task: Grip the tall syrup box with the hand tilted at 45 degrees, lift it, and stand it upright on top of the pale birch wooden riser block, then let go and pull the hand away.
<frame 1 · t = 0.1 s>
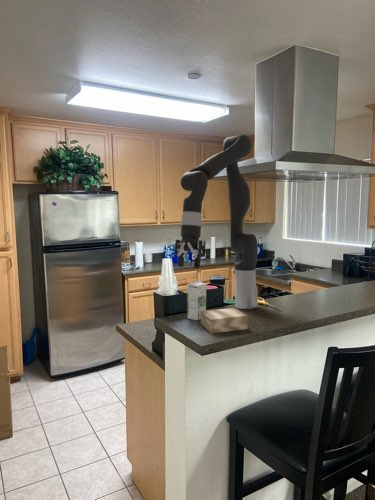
hand: (188, 267, 137), 22 cm above the countertop, tool pointing down, fingers open, 8 cm apart
syrup box: (197, 318, 148), on the countertop
riser block: (223, 326, 136), on the countertop
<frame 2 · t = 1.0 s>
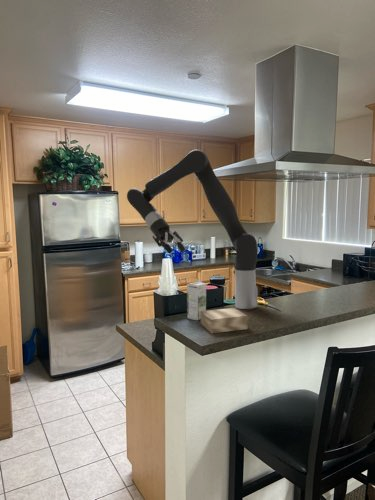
hand: (177, 251, 152), 27 cm above the countertop, tool tilted 45°, fingers open, 8 cm apart
nothing on the countertop moved.
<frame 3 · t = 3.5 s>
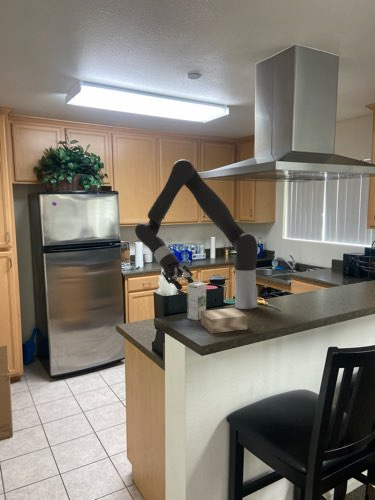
hand: (187, 287, 150), 12 cm above the countertop, tool tilted 45°, fingers open, 8 cm apart
nothing on the countertop moved.
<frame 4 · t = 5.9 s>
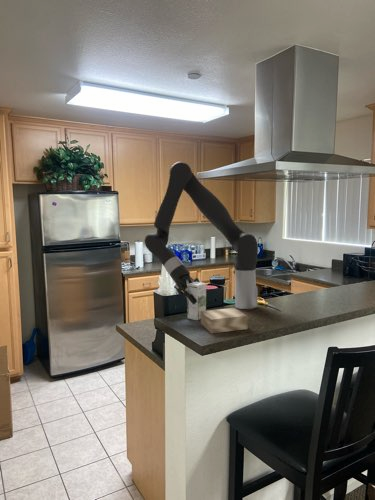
hand: (200, 301, 146), 7 cm above the countertop, tool tilted 45°, fingers closed on syrup box, 5 cm apart
syrup box: (197, 318, 148), on the countertop, touching gripper
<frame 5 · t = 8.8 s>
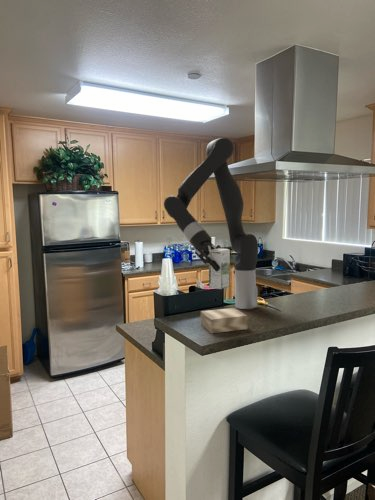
hand: (223, 268, 134), 22 cm above the countertop, tool tilted 45°, fingers closed on syrup box, 5 cm apart
syrup box: (219, 287, 136), point 14 cm above the countertop, touching gripper
when the fingers open (14 cm above the countertop, at t = 11.9 s): syrup box drops 1 cm, resting on riser block.
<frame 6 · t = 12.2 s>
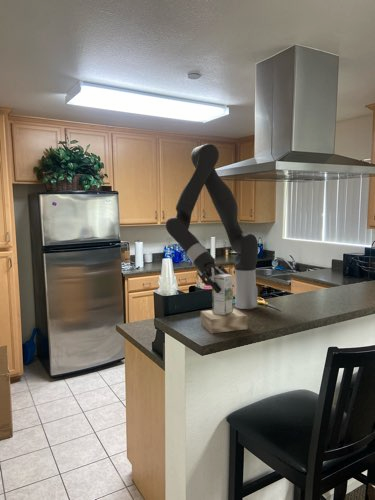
hand: (226, 289, 134), 14 cm above the countertop, tool tilted 45°, fingers open, 8 cm apart
syrup box: (222, 313, 136), point 5 cm above the countertop, touching riser block
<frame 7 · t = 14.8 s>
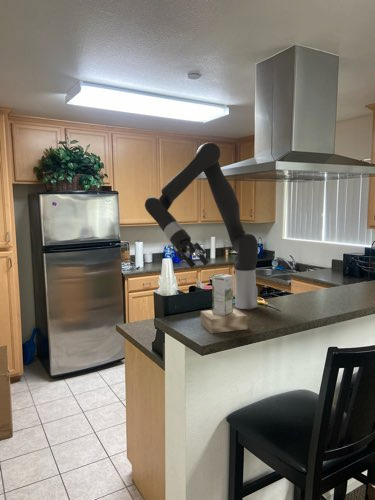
hand: (200, 265, 140), 23 cm above the countertop, tool tilted 45°, fingers open, 8 cm apart
nothing on the countertop moved.
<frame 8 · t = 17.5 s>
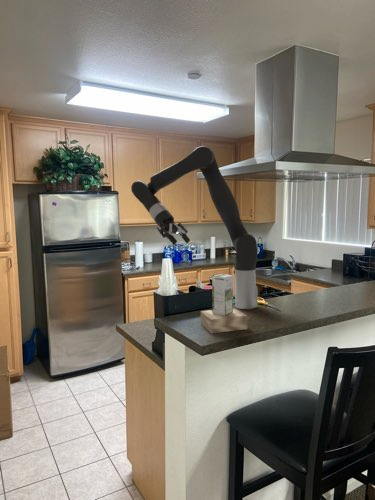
hand: (182, 242, 152), 31 cm above the countertop, tool tilted 45°, fingers open, 8 cm apart
nothing on the countertop moved.
at the end: syrup box inside the target area on the riser block (0.2 cm from its centre), point 4.8 cm above the riser block's base; syrup box tilted 0°; the gripper is holding nothing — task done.
